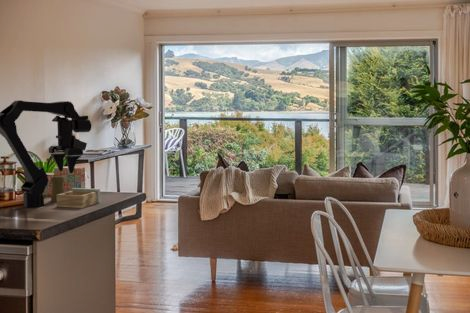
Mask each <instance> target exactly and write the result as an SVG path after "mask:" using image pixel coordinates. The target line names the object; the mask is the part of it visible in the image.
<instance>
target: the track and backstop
mask: <svg viewBox="0 0 470 313" xmlns="http://www.w3.org/2000/svg"><path fill="white" fill-rule="evenodd" d="M71 190H72V191H89V192H97V203H96V204H100V203H101V189H100V188H87V187H85V188H71Z"/></svg>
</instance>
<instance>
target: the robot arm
mask: <svg viewBox="0 0 470 313" xmlns="http://www.w3.org/2000/svg"><path fill="white" fill-rule="evenodd" d="M23 112H37V113H49V114H52V115H55V116H54V118H53V119H52V120H51V122H54V123H55V122H56V123H57V135H55V139H57V145H50V146H49V147H48V154H50V156H51V158H52V159H53V161H54V163H55V164H56V167H58V169H59V171H63V167H64V163H65V162H66V165H67V166H66V167H68V169H69V172H70V173H73V171H74V167H75V166H76V163H77V161H78V159H79V158H82V156H83V155H84V151H86V148H87V144H88V142H84V141H83V140H82V141H81V140H80V139H78V138H76V135H74V134H73V133H76V134H77V133H90V132H91V131H92V122H91V121H90V118H89V115H79V113H78V112H77V110H76V109H75V106H74V104H73V103H72V101H69V100H68V101H67V100H66V101H63V100H62V101H53V102H40V101H39V102H38V101H25V100H14V101H13V102H12V103H11V104H10V105H8V106H7V107H5V108H3V110H1V111H0V135H1V137H3V138H4V139H5V140H6V142H7V144H8V146H9V147H10V148H11V151H12V152H13V154H14V156H15V157H16V159H17V161H18V163H19V164H20V166H21V167H22V170H23V174H24V176H23V177H24V178H25V181H24V183H23V184H22V185H21V186H20V190H21V192H22V193H23V195H22V197H23V207H24V208H27V209H35V208H40V207H44V206H45V195H43V194H42V193H44V190H45V187H46V186H47V184H48V177H47V176H48V175H47V174H46V173H47V172H46V171H45V168H44V167H42V166H37V165H36V163H35V162H34V160H33V159H32V156H31V155H30V153H29V152H28V150H27V148H26V146H25V145H24V143H23V141H22V140H21V138H20V136H19V134H18V129H17V124H16V121H17V120H18V119H19V117H20V116H21V114H22V113H23ZM62 116H63V117H62ZM64 159H65V162H64Z"/></svg>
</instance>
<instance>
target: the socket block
mask: <svg viewBox="0 0 470 313" xmlns="http://www.w3.org/2000/svg"><path fill="white" fill-rule="evenodd" d="M56 196H57V202H56V207H58V208H59V207H60V208H77V209H78V208H79V209H83V208H86V207H89V206H93V205H96V204H98V203H97V192H89V191H69V192H66V193H62V194H58V195H56Z"/></svg>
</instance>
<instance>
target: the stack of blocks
mask: <svg viewBox="0 0 470 313" xmlns="http://www.w3.org/2000/svg"><path fill="white" fill-rule="evenodd" d="M46 174H47V175H48V176H47V177H48V184H47V186H46V187H45V190H44V193H42V194H43V196H51V195H52V185H53V184H52V183H51V178H52V177H53V176H63V177H64V183H63V186H64V193H66V192H69V191H72V190H71V188H86V167H85V166H76V165H75V167H74V171H73V173H70V172H69V169H68V166H63V171H59V169H58V167H57V166H56V167H53V172H46Z"/></svg>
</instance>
